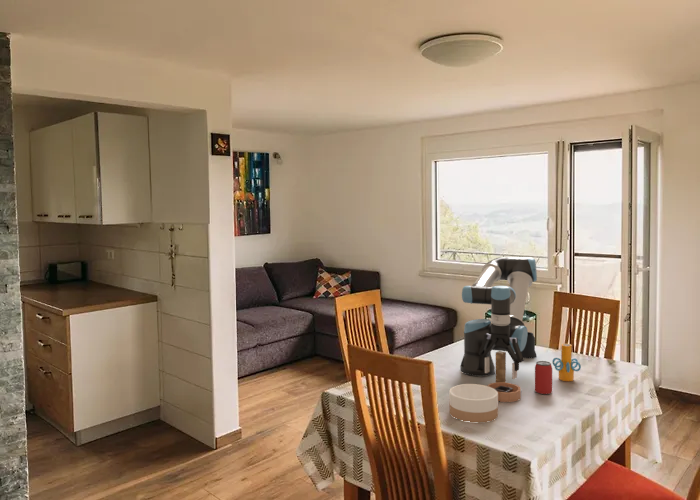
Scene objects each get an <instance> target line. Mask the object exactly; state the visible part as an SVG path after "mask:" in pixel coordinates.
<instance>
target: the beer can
mask: <svg viewBox="0 0 700 500" xmlns="http://www.w3.org/2000/svg"><path fill="white" fill-rule="evenodd" d="M534 391H535V393H537V394H539V395H544V396H545V395H550V394H552V393H553V366H552V363H551V362H550V361H548V360H547V361H546V360H537V361H536V362H535V365H534Z"/></svg>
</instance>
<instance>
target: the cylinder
mask: <svg viewBox="0 0 700 500" xmlns="http://www.w3.org/2000/svg"><path fill="white" fill-rule="evenodd" d="M572 345H573V344H571V343H562V344H561V351H560V352H561V357H560V358H561V359H560V358H559V357H554V358H553V359H552V363H551V364H552V365H553V366H554V369H555V370H556V371H558V380H560V381H561V382H562V381H563V382H573V381H574V380H575V379H574V377H575V374H574V373H575V372H579V371H581V368H582V367H581V364H580V362H579V361H578V359H577V358H572V356H573V355H572V352H573V351H572V349H573V348H572V347H573V346H572ZM556 360H557V361H556ZM555 361H556V362H555ZM558 364H559V365H558ZM574 364H575V365H574ZM573 365H574V366H573ZM577 367H578V368H577Z"/></svg>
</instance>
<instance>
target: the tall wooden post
mask: <svg viewBox="0 0 700 500" xmlns="http://www.w3.org/2000/svg"><path fill="white" fill-rule="evenodd" d="M506 353H507V351H496V352H495V383H496V382H506V381H507V380H506V379H507V378H506V377H507V374H506V373H507V368H506V367H507V365H506V364H507V363H506V362H507V354H506ZM506 383H507V382H506Z"/></svg>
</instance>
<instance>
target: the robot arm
mask: <svg viewBox="0 0 700 500" xmlns="http://www.w3.org/2000/svg"><path fill="white" fill-rule="evenodd" d="M537 271H538V270H537V263H536V259H535V258H534V257H528V256H522V257H521V256H499V257H496V258H494V259H492V260H489V261H488V262H486V263H485V264H484V265H483V267H482V269H481V272H480V274H479V275H478V277H477V278H476V280H475V281H474V283H473V284H472V285H464V286H463V287H462V290H461V300H462V301H463V303H465V304H477V305H480V304H481V305H491V307H490V309H491V315H490V317H491V318H490V319H487V318H476V319H471V320H468V321H467V322H465V323H464V326H463V327H464V329H463V343H464V344H463V346H464V347H463V348H464V349H463V350H464V354H463V357H462V359H461V363H460V366H459V367H460V370H459V371H460V372H461V373H462V372H463V374H465V375H468V376H473V377H474V376H476V377H485V376H492V375H493V374H495V373H496V365H495V363H494V360H493V357H492V355H491V354H492V351H496V352H498V351H502V352H506V353H508V354H509V356H510V358H511V360H512V364H511V365H512V366H511V370H512V372H511V379H513V380H515V379H517V378H518V371H519V370H520V363H522V362H524V360H525V358H523V356H522V354H521V351H523V350H524V348H525V346H526V342H527V336H528V332H529V330H528V328H527V326H526V324H525V323H524V322H523V320H524V318H523V317H524V314H525V308H526V301H527V296H528V291H529V288H530V287H532V285H533V283H534V282H537V281H538V279H537V278H538V275H537V274H538V273H537ZM498 281H507V282H508V284H509V286H507V285H495V286H494V284H495V283H496V282H498Z"/></svg>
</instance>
